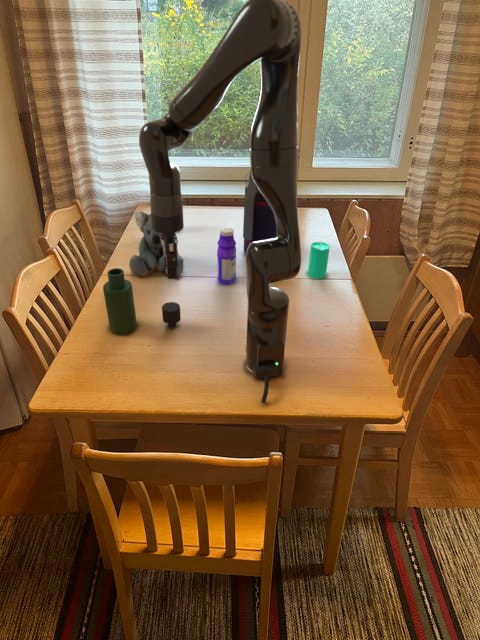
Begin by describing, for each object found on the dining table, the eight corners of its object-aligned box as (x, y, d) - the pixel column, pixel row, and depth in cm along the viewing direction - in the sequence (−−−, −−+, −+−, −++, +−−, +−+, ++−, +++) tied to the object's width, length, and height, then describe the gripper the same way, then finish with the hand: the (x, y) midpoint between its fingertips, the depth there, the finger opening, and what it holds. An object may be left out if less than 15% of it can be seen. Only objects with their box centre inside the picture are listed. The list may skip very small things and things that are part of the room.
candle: (305, 276, 155) (308, 242, 148) (311, 268, 159) (315, 235, 152) (322, 280, 152) (326, 246, 146) (328, 272, 157) (333, 239, 150)
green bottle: (137, 333, 126) (130, 277, 117) (110, 336, 125) (100, 280, 115) (136, 318, 132) (129, 264, 123) (109, 321, 131) (100, 266, 121)
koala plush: (128, 278, 151) (121, 220, 140) (138, 254, 166) (132, 199, 155) (183, 279, 151) (180, 221, 140) (187, 254, 166) (185, 200, 155)
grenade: (257, 243, 175) (260, 161, 158) (283, 253, 169) (290, 168, 152) (233, 256, 166) (234, 170, 149) (260, 266, 160) (264, 178, 143)
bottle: (232, 286, 148) (233, 235, 138) (215, 284, 149) (214, 233, 139) (237, 276, 154) (238, 225, 144) (220, 274, 155) (220, 223, 145)
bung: (182, 329, 128) (181, 310, 125) (164, 331, 127) (162, 312, 124) (179, 320, 132) (178, 301, 128) (162, 322, 131) (160, 303, 127)
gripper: (148, 199, 116) (153, 258, 125) (152, 222, 105) (158, 285, 114) (179, 197, 118) (182, 256, 127) (186, 220, 106) (189, 282, 115)
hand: (170, 270), depth 120 cm, fingers open, 8 cm apart
